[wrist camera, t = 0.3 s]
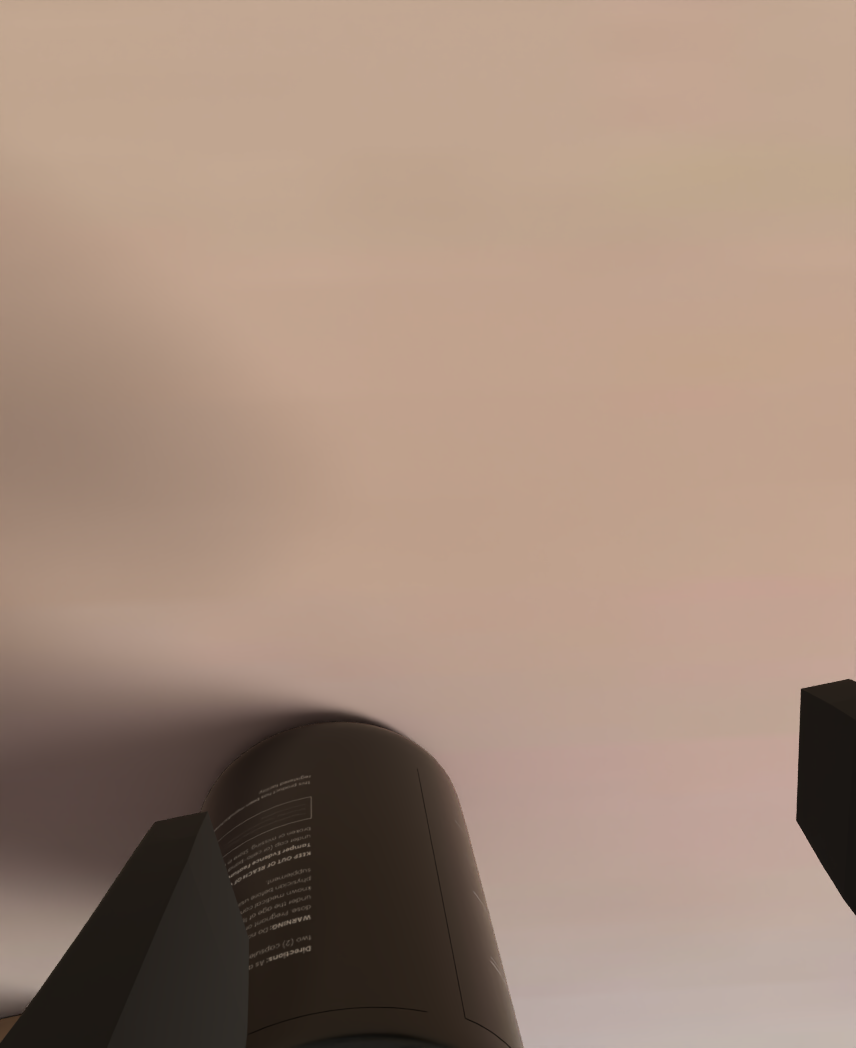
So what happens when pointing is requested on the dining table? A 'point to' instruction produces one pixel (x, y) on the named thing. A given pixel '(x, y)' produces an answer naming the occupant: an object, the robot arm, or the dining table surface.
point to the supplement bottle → (358, 895)
